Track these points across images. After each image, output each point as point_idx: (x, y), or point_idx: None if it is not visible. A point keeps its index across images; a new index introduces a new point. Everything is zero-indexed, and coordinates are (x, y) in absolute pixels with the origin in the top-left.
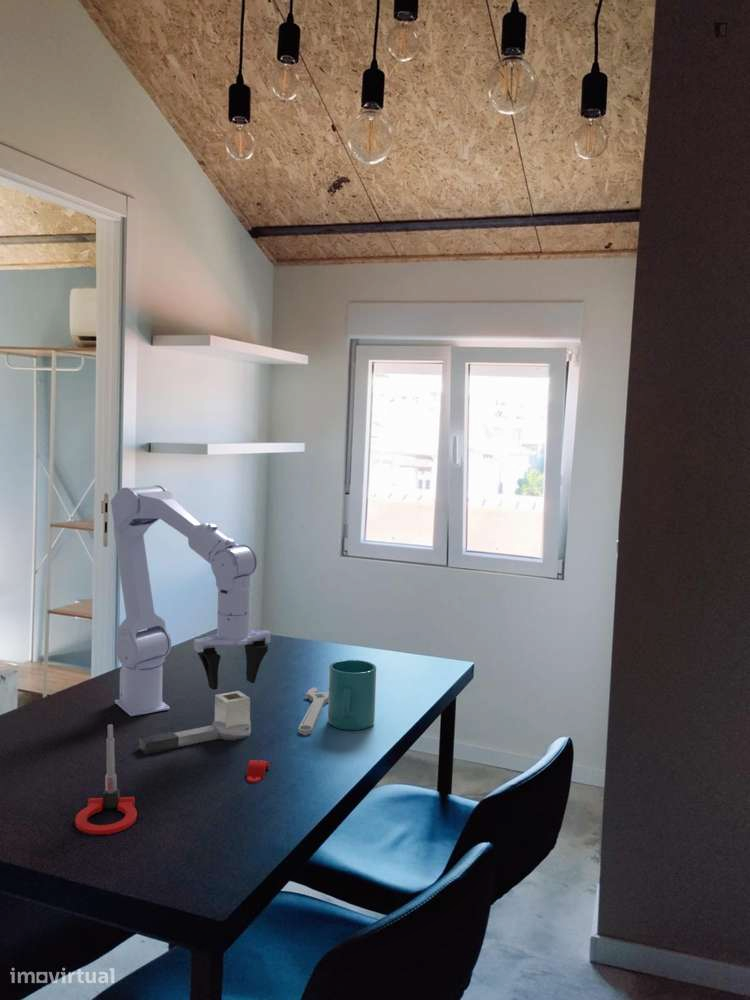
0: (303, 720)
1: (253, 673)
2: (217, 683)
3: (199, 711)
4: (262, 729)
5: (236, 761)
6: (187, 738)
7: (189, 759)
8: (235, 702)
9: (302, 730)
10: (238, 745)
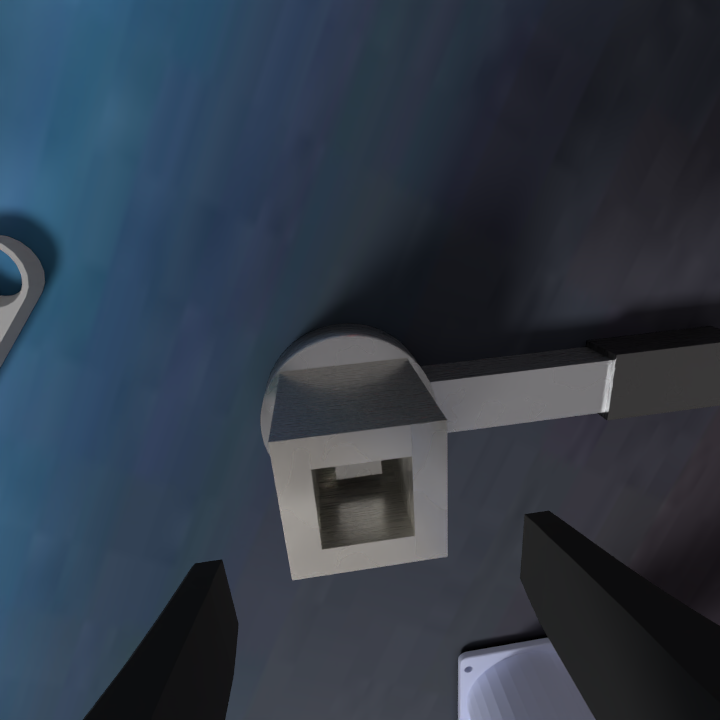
0: None
1: (191, 627)
2: (553, 541)
3: (375, 619)
4: (207, 389)
5: (456, 70)
6: (564, 359)
7: (612, 203)
8: (378, 421)
9: (13, 251)
10: (372, 259)
